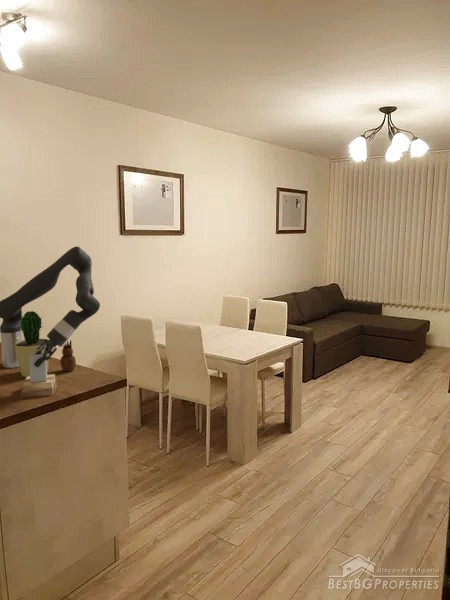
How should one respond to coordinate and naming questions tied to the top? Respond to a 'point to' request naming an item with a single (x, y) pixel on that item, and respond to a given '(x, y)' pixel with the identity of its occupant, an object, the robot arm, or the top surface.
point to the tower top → (39, 384)
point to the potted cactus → (29, 341)
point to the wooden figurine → (67, 358)
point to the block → (37, 369)
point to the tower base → (39, 392)
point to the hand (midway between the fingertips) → (33, 363)
